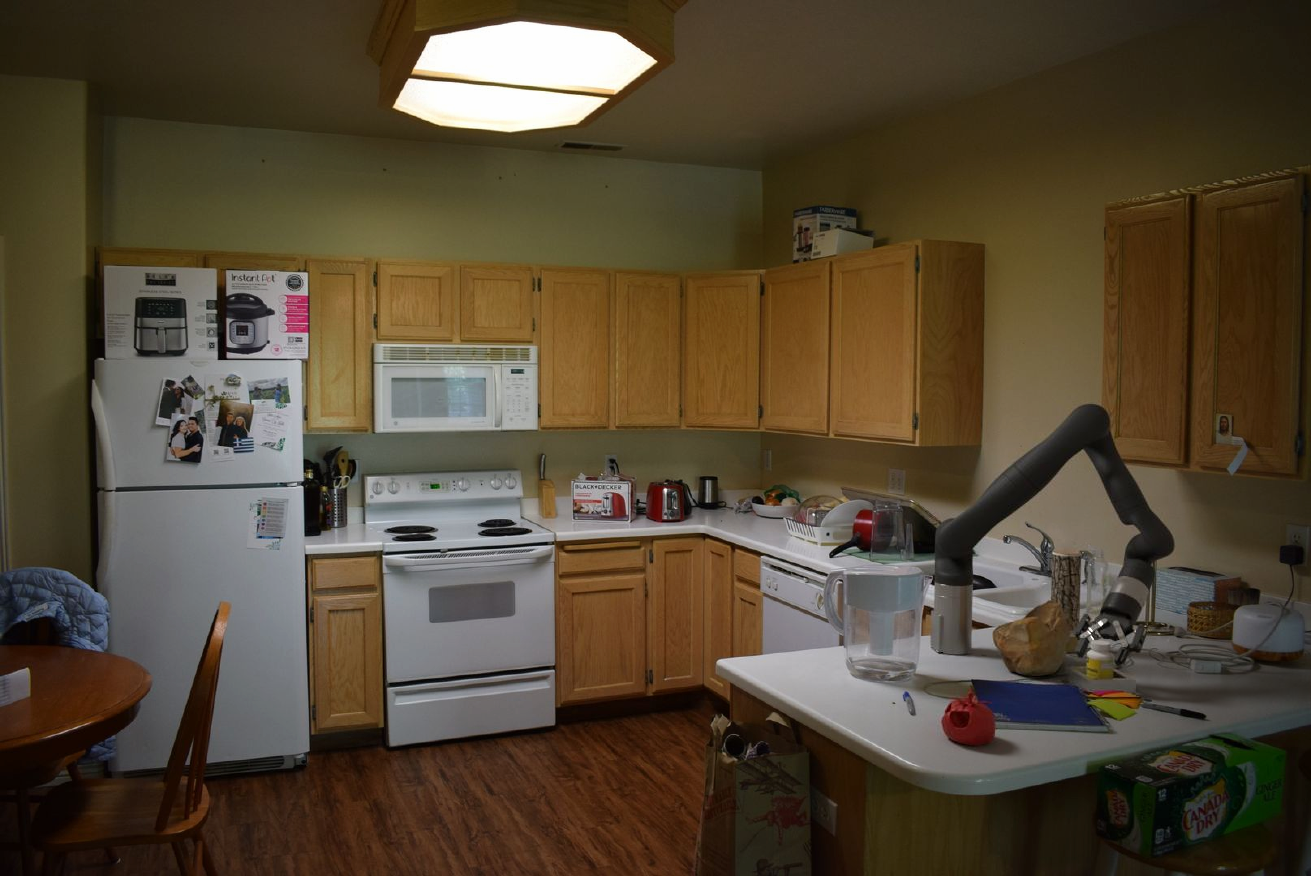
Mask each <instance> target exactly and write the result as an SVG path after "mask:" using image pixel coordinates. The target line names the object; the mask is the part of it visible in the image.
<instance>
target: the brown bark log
mask: <svg viewBox="0 0 1311 876" xmlns="http://www.w3.org/2000/svg"><path fill="white" fill-rule="evenodd" d="M1051 555H1052V556H1051V581H1050V582H1051V585H1050V586H1051V588H1050V591H1051V592H1050V600H1052V601H1053V602H1055V603H1059V604H1060V605H1061V606H1062V609H1063V612H1064V615H1065V618H1066V621H1067V623H1068V626H1069V629H1070V641H1069V643H1068V644H1067V645H1066V654H1067V653H1068V654H1069V653H1076V651H1075V648H1076V647H1077V644H1078V642H1079V640H1078V639H1077V638H1076V636H1075V634H1074V630H1075V629H1076V627H1077V625H1078V623H1079V622H1080V620H1081V617H1080V614H1081V613H1080V611H1081V580H1082V579H1081V578H1082V577H1081V576H1082V553H1081V551H1076V550H1067V549H1066V550H1065V549H1055V550H1052V553H1051Z"/></svg>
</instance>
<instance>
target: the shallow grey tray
mask: <svg viewBox="0 0 1311 876" xmlns="http://www.w3.org/2000/svg"><path fill="white" fill-rule="evenodd" d="M1086 667H1087V666H1065V676H1064V677H1065V678H1060V680H1059V682H1060V683H1062V684H1063V685H1065V686H1067V685H1071V686H1077V687H1079V688H1081V689H1083V690H1086V691H1088V692H1095V691H1108V690H1109V691H1111V690H1114V691H1124V692H1127V693H1131V694H1133V695H1136V696H1139V697H1141V698H1142V694H1141V693H1139V692H1137V690H1136V689H1137V687H1136V686H1137V679H1135V678H1133V677H1131V676H1130V675H1128V674H1126V673H1124V672H1122V671H1120V670H1118V669H1116V668H1114V667H1113V678H1100V679H1091V678H1090V677H1088V676H1086Z"/></svg>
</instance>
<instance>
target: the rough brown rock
mask: <svg viewBox="0 0 1311 876" xmlns="http://www.w3.org/2000/svg"><path fill="white" fill-rule="evenodd" d="M992 641H993V643H994V646H995V647H996V649H997V651H999V653H1000V655H1001V658H1002V661H1003V664H1004V666H1005V667H1006V669H1008V671H1009V672H1010V671H1011V672H1010V673H1012V672H1015V673H1017V674H1018V675H1023V676H1027V675H1028V676H1029V677H1037V676H1038V677H1041V676H1046V675H1052V674H1055V673H1056V671H1058V670H1059V669H1060V666H1062V664H1063V663H1064V661H1065V660H1066V658H1067V652H1066V645H1067V644H1068V643H1069V641H1070V629H1069V626H1068V623H1067V621H1066V618H1065V615H1064V612H1063V609H1062V606H1061V605H1060V604H1059V603H1055V602H1053V601H1052V600H1051V599H1049V600H1047V601H1046V602H1044V603H1043V604H1040V605H1039V604H1038V605H1037V606H1035V607H1034V608H1033V609H1032V610H1030V611H1029V612H1027V613H1026V615H1025V616H1024V617H1023V618H1021V619H1017V620H1013V621H1011V622H1010V621H1009V622H1005V623H1004V624H1001V625H998V626H997V627H995V629H994V630H993V631H992Z"/></svg>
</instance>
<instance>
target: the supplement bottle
mask: <svg viewBox="0 0 1311 876" xmlns="http://www.w3.org/2000/svg"><path fill="white" fill-rule="evenodd" d="M1089 645H1090V650H1089V651H1086V666H1085V667H1086V676H1088V677H1090V678H1091V679H1100V678H1113V668H1114V663H1115V662H1114V659H1115V657H1114V654H1113V653H1112V652H1111V642H1109V641H1106V640H1102V639H1099V640H1092V641H1091V643H1090V644H1089Z"/></svg>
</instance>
